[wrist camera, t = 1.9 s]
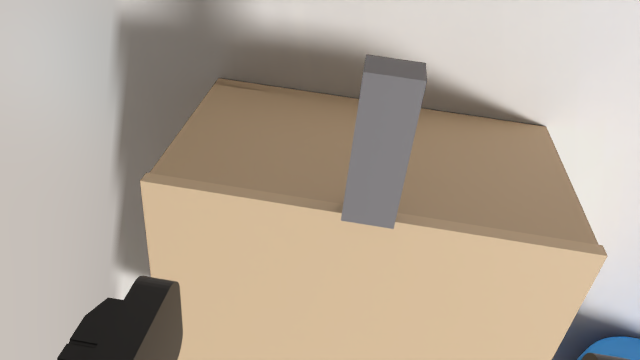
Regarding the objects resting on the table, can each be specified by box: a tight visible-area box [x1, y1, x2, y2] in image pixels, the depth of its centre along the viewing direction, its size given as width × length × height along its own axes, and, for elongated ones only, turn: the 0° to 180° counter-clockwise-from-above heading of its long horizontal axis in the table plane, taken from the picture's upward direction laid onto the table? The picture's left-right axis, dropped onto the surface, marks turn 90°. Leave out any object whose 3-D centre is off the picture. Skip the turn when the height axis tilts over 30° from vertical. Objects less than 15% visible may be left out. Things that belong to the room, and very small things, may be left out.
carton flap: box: [140, 55, 607, 360], centre depth 24 cm, size 24×18×2 cm
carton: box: [150, 78, 598, 245], centre depth 30 cm, size 18×18×10 cm
